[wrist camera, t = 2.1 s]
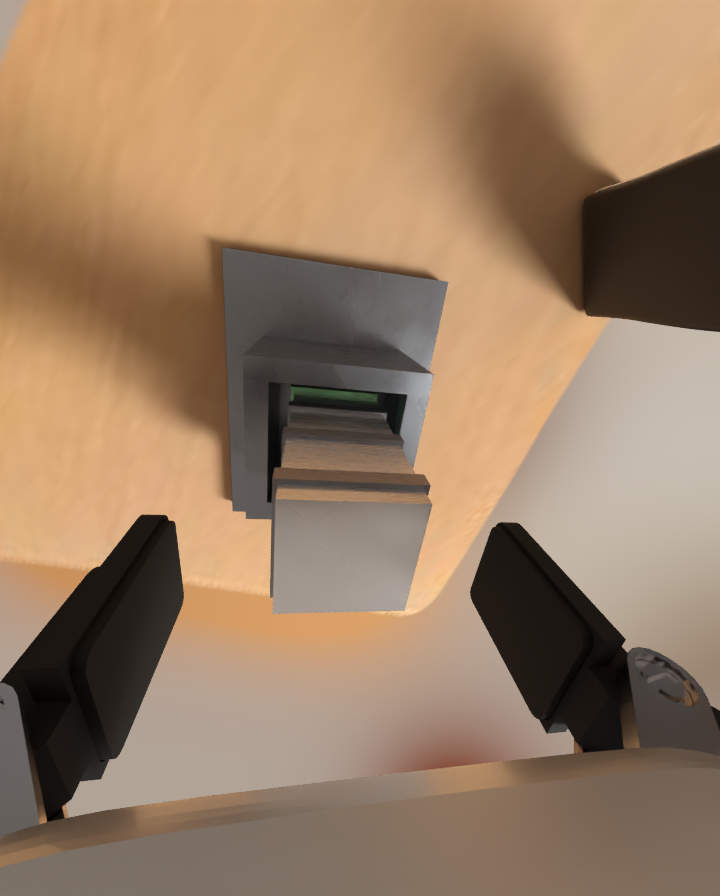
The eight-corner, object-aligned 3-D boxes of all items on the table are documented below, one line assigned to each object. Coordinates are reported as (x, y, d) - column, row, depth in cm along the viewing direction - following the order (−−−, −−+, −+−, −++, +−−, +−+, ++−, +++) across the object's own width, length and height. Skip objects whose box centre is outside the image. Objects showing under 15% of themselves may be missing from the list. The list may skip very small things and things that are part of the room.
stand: (226, 249, 17) (151, 214, 9) (442, 282, 19) (533, 277, 11) (235, 502, 24) (196, 610, 16) (395, 507, 26) (432, 605, 18)
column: (294, 371, 19) (267, 491, 8) (367, 378, 20) (441, 497, 9) (291, 439, 21) (265, 618, 10) (358, 443, 22) (409, 614, 10)
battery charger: (637, 299, 21) (936, 309, 11) (580, 321, 21) (824, 349, 11) (644, 168, 18) (1069, 14, 8) (578, 194, 18) (913, 74, 8)
